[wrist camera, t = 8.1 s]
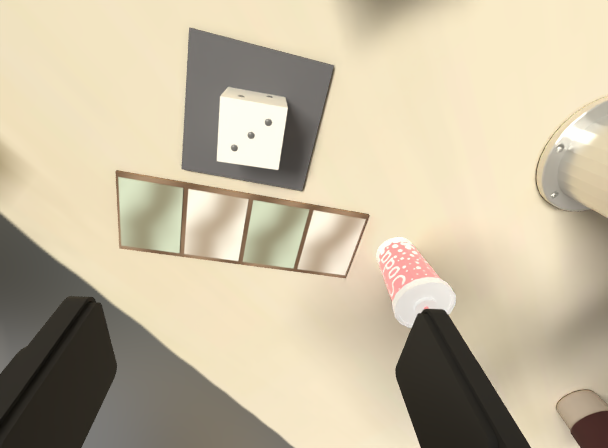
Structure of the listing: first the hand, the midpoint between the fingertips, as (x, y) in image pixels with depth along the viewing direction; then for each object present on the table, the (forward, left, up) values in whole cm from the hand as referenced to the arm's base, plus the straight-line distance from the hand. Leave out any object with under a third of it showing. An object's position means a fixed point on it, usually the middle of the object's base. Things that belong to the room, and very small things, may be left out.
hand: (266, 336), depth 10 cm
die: (+2, -1, -24) cm, 24 cm away
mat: (+2, -1, -24) cm, 24 cm away
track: (+1, +11, -24) cm, 26 cm away
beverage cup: (-17, +11, -24) cm, 32 cm away
